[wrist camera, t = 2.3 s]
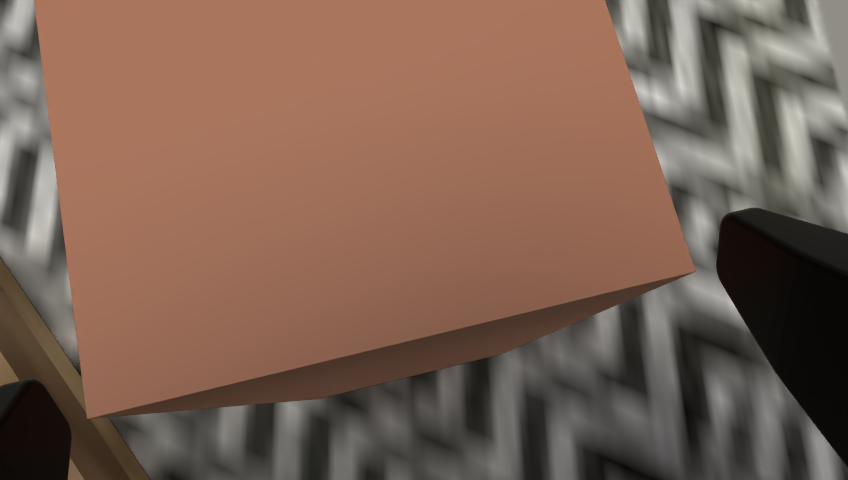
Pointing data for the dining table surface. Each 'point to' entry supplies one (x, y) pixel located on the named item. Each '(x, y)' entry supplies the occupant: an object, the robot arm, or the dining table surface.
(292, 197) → the reddish brown block
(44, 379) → the chassis
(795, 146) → the dining table surface
